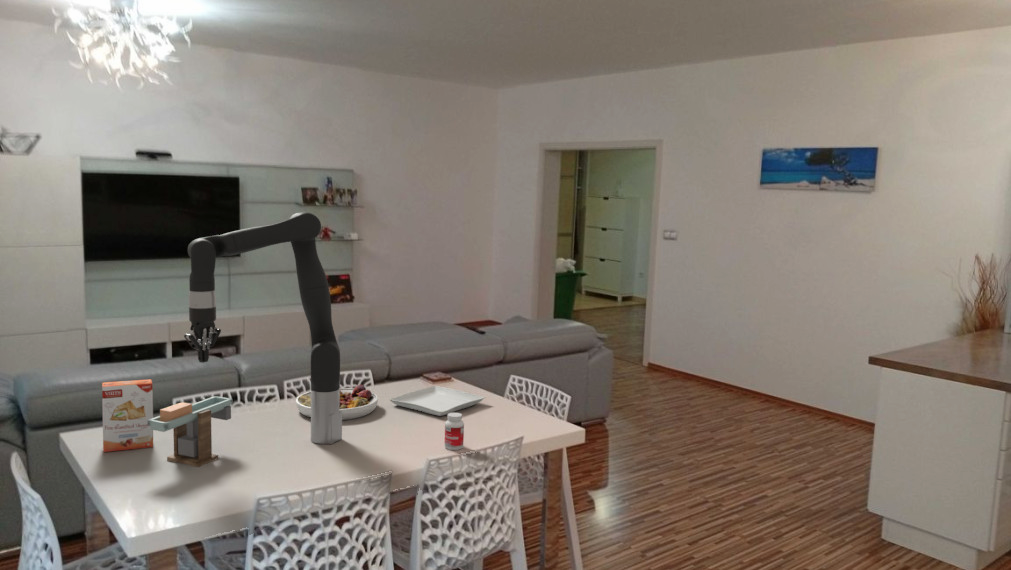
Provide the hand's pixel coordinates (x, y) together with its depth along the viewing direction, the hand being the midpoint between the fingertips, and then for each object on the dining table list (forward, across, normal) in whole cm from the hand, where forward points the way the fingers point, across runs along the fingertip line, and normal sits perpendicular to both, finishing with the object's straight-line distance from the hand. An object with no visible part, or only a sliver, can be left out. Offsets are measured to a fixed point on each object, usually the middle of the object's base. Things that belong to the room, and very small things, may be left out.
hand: (203, 361), depth 223 cm
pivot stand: (+29, -5, 0) cm, 29 cm away
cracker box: (+29, -6, +25) cm, 39 cm away
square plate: (+30, +82, -38) cm, 95 cm away
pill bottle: (+30, +41, -65) cm, 82 cm away
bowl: (+30, +58, -8) cm, 66 cm away
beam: (+27, -5, 0) cm, 27 cm away
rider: (+15, -11, 0) cm, 19 cm away
